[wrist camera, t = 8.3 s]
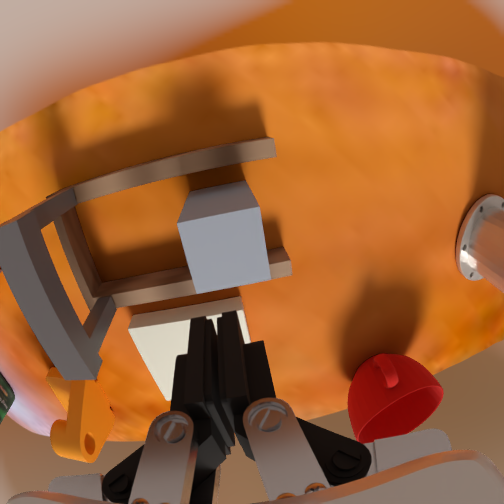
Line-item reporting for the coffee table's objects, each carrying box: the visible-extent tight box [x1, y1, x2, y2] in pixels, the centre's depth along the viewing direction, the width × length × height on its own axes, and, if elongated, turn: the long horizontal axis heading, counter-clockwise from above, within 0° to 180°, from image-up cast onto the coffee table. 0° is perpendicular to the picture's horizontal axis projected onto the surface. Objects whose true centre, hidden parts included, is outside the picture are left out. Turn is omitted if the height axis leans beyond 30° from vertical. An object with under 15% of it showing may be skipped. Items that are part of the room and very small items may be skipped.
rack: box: [46, 137, 292, 312], centre depth 25 cm, size 20×12×3 cm, turn 99°
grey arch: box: [0, 188, 117, 380], centre depth 19 cm, size 3×12×9 cm, turn 9°
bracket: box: [46, 367, 115, 463], centre depth 29 cm, size 11×7×12 cm, turn 1°
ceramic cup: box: [348, 353, 443, 444], centre depth 33 cm, size 13×17×10 cm
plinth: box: [128, 296, 251, 400], centre depth 31 cm, size 12×12×2 cm
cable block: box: [177, 180, 271, 294], centre depth 22 cm, size 5×5×9 cm
